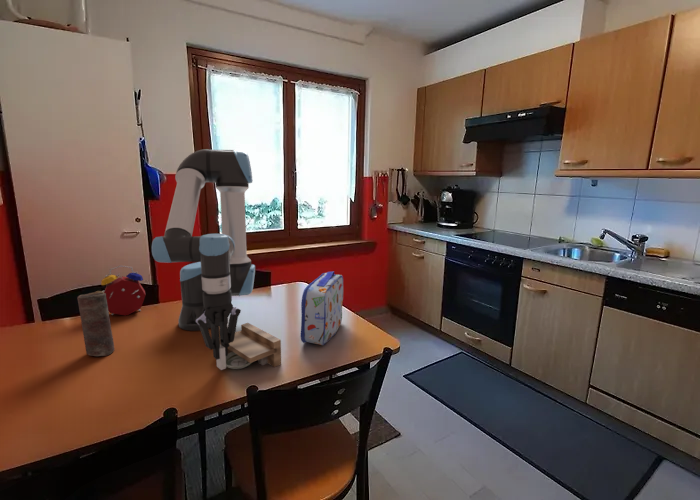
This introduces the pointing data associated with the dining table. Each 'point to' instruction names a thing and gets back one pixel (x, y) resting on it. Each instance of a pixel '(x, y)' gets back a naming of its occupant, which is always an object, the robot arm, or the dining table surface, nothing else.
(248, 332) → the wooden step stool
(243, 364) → the saucer
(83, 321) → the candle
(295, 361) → the dining table surface
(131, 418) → the dining table surface
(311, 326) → the lunch box
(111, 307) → the alarm clock
